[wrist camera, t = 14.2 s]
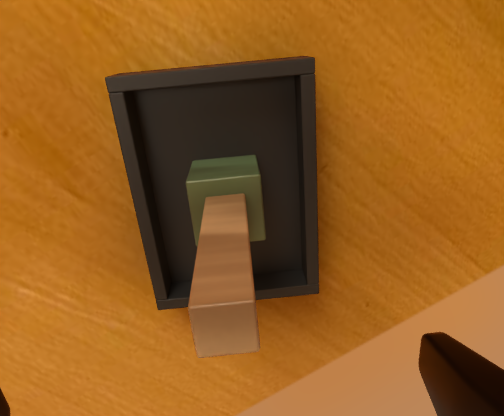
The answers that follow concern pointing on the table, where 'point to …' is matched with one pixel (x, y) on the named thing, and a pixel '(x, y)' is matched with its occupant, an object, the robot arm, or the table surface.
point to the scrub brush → (225, 253)
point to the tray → (220, 146)
